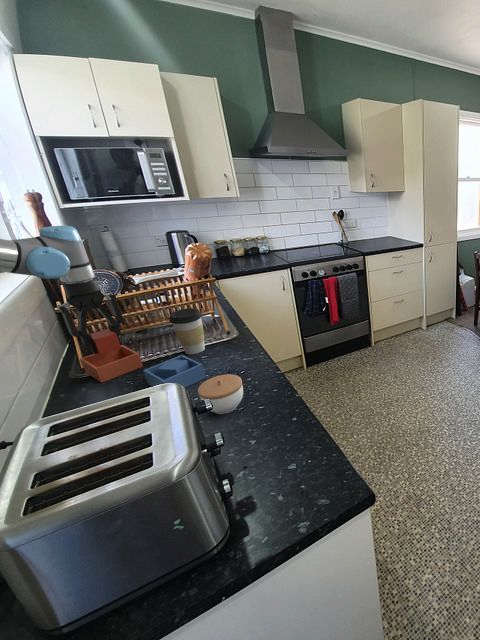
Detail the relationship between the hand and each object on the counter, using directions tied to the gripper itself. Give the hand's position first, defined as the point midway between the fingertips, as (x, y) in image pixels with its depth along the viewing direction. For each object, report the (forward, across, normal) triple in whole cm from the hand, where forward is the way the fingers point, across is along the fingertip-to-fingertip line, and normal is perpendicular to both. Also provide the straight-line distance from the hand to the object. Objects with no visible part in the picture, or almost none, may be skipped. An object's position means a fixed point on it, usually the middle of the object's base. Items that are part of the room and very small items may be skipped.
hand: (106, 348), depth 112 cm
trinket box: (+8, -7, +49) cm, 50 cm away
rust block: (0, 0, 0) cm, 0 cm away
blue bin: (+8, -7, +24) cm, 26 cm away
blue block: (+7, -7, +24) cm, 26 cm away
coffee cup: (+8, -21, +9) cm, 24 cm away
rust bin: (+8, 0, 0) cm, 8 cm away
